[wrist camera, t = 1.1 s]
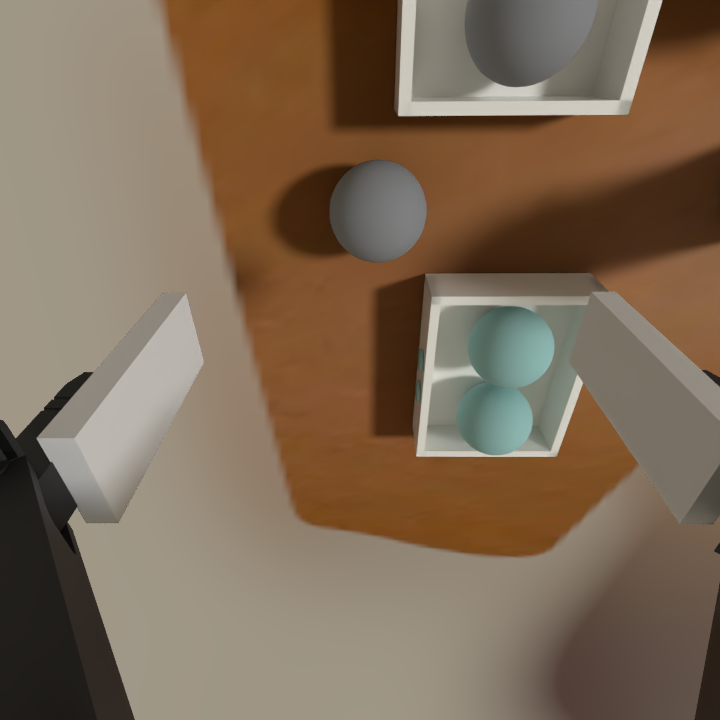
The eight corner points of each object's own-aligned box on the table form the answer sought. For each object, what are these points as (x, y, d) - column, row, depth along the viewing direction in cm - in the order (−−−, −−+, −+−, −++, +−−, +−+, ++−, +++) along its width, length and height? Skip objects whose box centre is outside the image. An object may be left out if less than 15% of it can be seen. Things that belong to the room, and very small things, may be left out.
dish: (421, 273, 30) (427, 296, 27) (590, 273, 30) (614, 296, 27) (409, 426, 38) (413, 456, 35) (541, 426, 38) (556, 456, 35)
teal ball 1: (466, 292, 30) (484, 333, 26) (546, 291, 30) (578, 333, 25) (456, 357, 33) (471, 405, 29) (529, 357, 33) (555, 405, 29)
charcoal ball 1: (330, 151, 26) (323, 171, 21) (424, 151, 25) (437, 171, 21) (334, 243, 29) (328, 278, 24) (418, 242, 29) (427, 277, 24)
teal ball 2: (455, 367, 34) (469, 415, 29) (526, 367, 34) (551, 415, 29) (447, 420, 37) (459, 471, 32) (512, 420, 37) (533, 471, 32)
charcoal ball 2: (462, -57, 20) (490, -91, 16) (582, -59, 20) (646, -92, 15) (449, 84, 23) (469, 91, 19) (553, 84, 23) (599, 90, 19)
